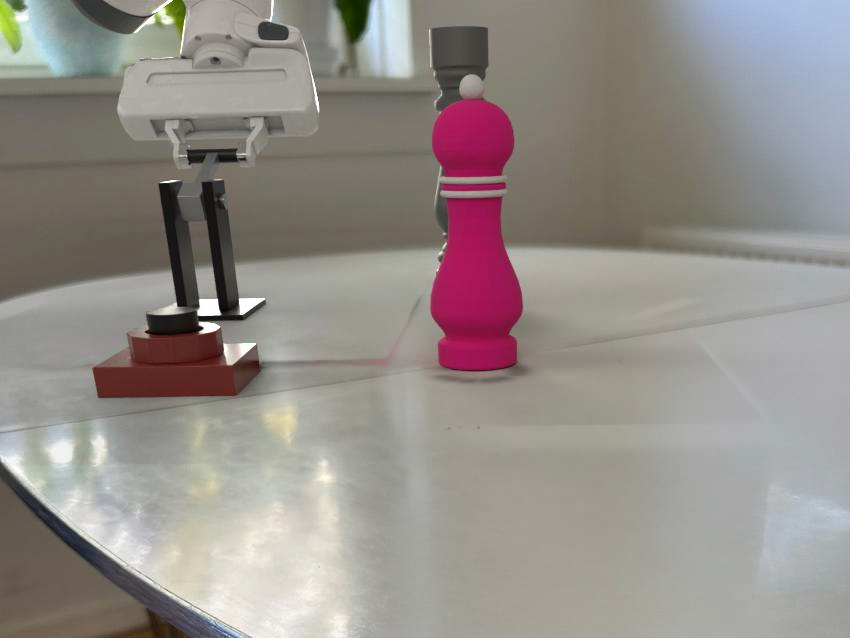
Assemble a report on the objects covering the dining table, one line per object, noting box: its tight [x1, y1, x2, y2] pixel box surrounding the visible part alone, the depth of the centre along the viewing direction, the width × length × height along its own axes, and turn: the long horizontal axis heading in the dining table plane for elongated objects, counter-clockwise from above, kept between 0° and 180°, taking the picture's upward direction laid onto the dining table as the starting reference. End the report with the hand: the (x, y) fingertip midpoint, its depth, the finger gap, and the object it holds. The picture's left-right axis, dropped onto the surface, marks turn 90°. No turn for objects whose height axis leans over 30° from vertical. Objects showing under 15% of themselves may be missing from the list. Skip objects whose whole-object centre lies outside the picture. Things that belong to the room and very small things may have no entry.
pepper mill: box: [429, 74, 524, 371], centre depth 75 cm, size 7×7×20 cm
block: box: [91, 321, 261, 399], centre depth 74 cm, size 10×8×4 cm
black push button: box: [145, 306, 200, 335], centre depth 73 cm, size 4×4×2 cm
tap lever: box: [177, 147, 239, 222], centre depth 97 cm, size 12×5×2 cm, turn 178°
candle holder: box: [428, 25, 490, 276], centre depth 100 cm, size 6×6×25 cm
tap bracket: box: [157, 178, 267, 322], centre depth 96 cm, size 10×9×13 cm
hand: (214, 163), depth 100 cm, fingers closed on tap lever, 5 cm apart
